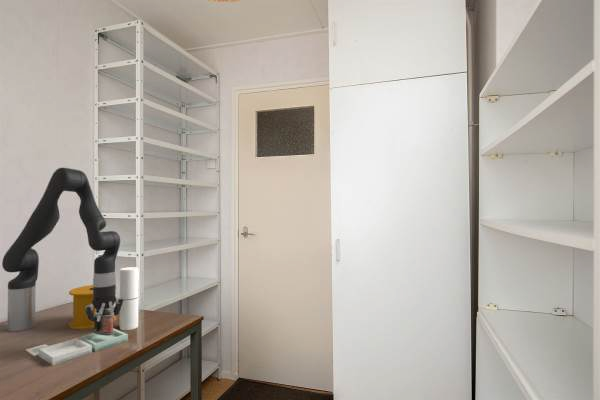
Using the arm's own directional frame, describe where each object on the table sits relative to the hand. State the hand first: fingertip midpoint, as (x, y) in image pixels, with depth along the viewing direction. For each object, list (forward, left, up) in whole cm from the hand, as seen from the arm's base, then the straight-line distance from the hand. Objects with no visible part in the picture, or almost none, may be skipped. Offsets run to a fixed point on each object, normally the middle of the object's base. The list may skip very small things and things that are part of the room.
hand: (104, 328), depth 132 cm
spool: (-27, +8, -5) cm, 29 cm away
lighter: (0, 0, -2) cm, 2 cm away
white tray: (0, -13, -5) cm, 14 cm away
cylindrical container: (-8, +14, -5) cm, 17 cm away
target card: (-11, -17, -5) cm, 21 cm away
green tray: (0, 0, -5) cm, 5 cm away
